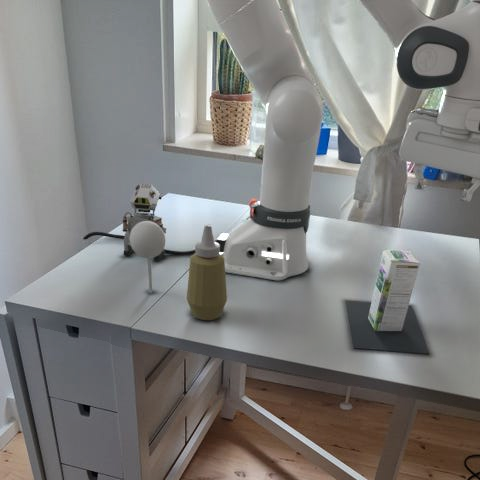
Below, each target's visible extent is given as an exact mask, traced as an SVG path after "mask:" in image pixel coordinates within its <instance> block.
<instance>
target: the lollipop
mask: <svg viewBox="0 0 480 480" xmlns="http://www.w3.org/2000/svg"><path fill="white" fill-rule="evenodd" d="M165 234H166V233H164V232H163V230H162V229H161V227H160V226H159V225H157V224H156V223H154V222H151V221H142V222H139V223H138V224H136V225H135V226H134V227H133V229H132V230H131V233H130V244H131V247H132V249H133V250H134V252H133V253H135V254H136V255H138V256H139V257H141V258H145V259H146V262H147V264H146V265H147V277H148V278H147V279H148V293H149V294H153V277H152V261H151V259H152V258H153V259H154V257H156V256H157V255H159V254H160V253H161V252H162V250H163V249H165V246H166V235H165Z"/></svg>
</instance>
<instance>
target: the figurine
mask: <svg viewBox="0 0 480 480" xmlns="http://www.w3.org/2000/svg"><path fill="white" fill-rule="evenodd" d="M160 195H161V193H160V192H159V191H158V190H157V189H156V187H155V186H153V184H149V183H141V184H138V185H136V186H135V188H134V190H133V192H132V195H131V198H130V201H129V203H130V205H131V207H132V208H133V209H134V213H131V212H129V211H128V212H125V214H124V216H122V232H123V233H124V236H125V237H124V239H123V256H124V257H131V255H132V254H134V253H135V252H134V250H133V249H132V247H131V244H130V233H131V230H132V229H133V227H134V226H135V225H136V224H138V223H139V222H142V221H151V222H154V223H156V224H157V225H159V226H160V227H161V229H162V230H163V232H164V234H167V228H166V227H164V224H163V221H162V219H163V218H162V217H160V216H157V215H155V211H156V208H157V206H158V202H159V200H162V197H161V196H160ZM137 211H138V212H137ZM151 211H152V212H151ZM127 214H128V215H127ZM164 249H165V248H164ZM164 249H163V250H162V252H161V253H160V254H159V255H157V256H156V257H153V260H154V261H158V262H160V261H161V260H162V258H164V257H165V255H166V253H165V250H164Z"/></svg>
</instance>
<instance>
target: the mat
mask: <svg viewBox="0 0 480 480" xmlns="http://www.w3.org/2000/svg"><path fill="white" fill-rule="evenodd" d="M371 302H372V301H371ZM371 302H370V301H358V300H345V303H346V309H347V314H348V315H347V316H348V321H349V327H350V335H351V340H352V345H353V349H355V350H367V351H377V352H378V351H379V352H389V353H391V352H393V353H403V354H404V353H405V354H416V355H429V351H428V348H427V345H426V342H425V339H424V337H423V334H422V331H421V329H420V327H419V323H418V320H417V318H416V315H415V313H414V310H413V306H412V305H411V304H409V305H408V309H407V313H406V317H405V320H404V324H403V328H402V331H375V330H374V328H373V327H372V325H371V323H370V321H369V319H368V316H369V311H370V307H371Z"/></svg>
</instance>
